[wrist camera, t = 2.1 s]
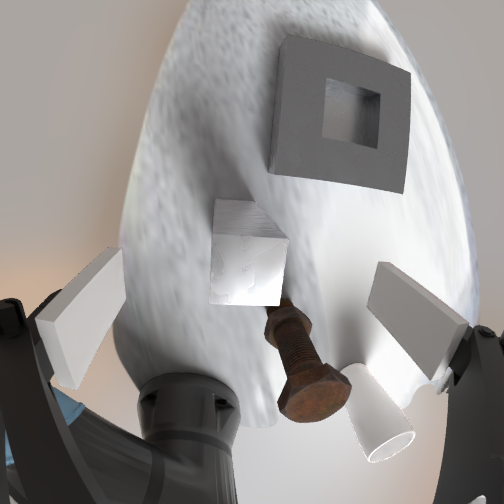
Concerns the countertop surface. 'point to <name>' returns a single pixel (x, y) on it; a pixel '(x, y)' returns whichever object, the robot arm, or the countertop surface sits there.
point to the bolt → (303, 368)
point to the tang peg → (246, 255)
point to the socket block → (340, 116)
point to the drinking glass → (375, 416)
